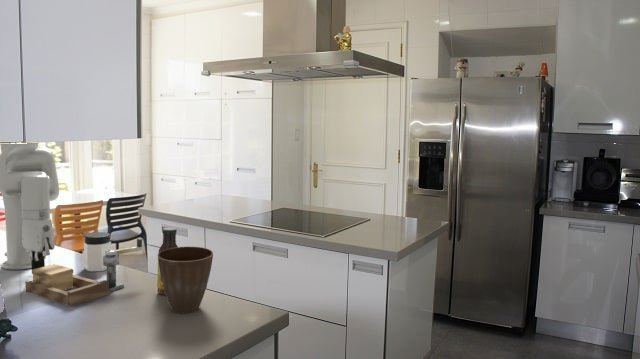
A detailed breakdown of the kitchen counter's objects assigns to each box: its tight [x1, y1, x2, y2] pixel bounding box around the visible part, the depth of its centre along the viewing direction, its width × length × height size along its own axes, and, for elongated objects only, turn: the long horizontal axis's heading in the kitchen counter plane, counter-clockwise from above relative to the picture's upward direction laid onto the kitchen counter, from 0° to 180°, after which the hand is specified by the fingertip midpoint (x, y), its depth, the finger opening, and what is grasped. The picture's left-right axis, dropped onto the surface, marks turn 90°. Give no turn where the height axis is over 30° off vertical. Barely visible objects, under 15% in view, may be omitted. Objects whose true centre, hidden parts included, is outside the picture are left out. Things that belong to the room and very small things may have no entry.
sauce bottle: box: [156, 227, 179, 296], centre depth 150 cm, size 6×6×20 cm
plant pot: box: [157, 246, 214, 314], centre depth 138 cm, size 15×15×16 cm
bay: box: [24, 274, 110, 307], centre depth 148 cm, size 22×12×4 cm, turn 61°
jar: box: [83, 231, 112, 272], centre depth 172 cm, size 9×8×12 cm
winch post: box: [103, 254, 125, 293], centre depth 153 cm, size 5×5×10 cm
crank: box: [105, 238, 143, 257], centre depth 155 cm, size 12×3×4 cm, turn 137°
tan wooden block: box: [31, 263, 74, 291], centre depth 151 cm, size 9×7×6 cm
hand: (38, 271), depth 154 cm, fingers closed
